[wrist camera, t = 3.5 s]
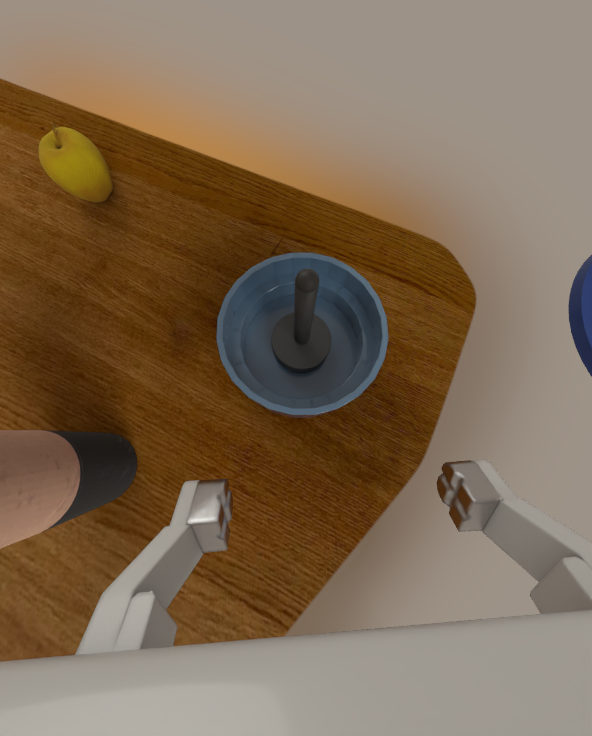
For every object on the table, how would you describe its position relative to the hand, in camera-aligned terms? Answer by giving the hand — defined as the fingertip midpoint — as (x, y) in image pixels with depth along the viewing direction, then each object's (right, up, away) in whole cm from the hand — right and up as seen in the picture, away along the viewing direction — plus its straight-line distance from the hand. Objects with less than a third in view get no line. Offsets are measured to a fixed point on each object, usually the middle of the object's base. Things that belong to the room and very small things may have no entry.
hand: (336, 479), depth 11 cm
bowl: (-1, +7, +22) cm, 23 cm away
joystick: (-1, +7, +22) cm, 23 cm away
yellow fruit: (-28, +27, +27) cm, 47 cm away
